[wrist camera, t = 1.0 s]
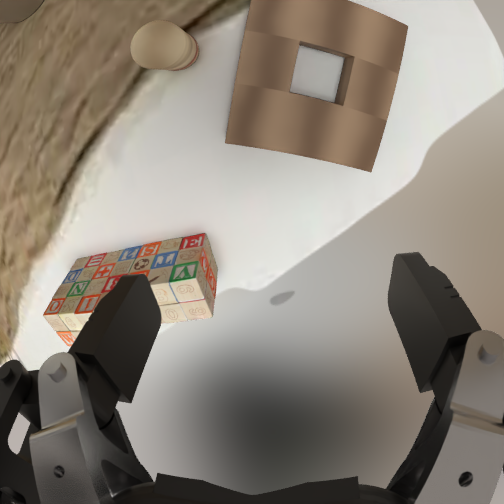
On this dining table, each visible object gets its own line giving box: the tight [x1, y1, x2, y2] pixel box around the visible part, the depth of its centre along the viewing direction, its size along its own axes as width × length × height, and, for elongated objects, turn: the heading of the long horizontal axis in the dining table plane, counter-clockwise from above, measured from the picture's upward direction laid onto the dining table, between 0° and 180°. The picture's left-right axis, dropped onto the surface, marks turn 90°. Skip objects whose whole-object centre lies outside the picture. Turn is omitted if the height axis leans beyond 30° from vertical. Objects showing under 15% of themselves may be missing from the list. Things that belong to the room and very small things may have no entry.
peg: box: [131, 20, 199, 71], centre depth 20 cm, size 4×4×10 cm
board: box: [225, 0, 408, 172], centre depth 24 cm, size 16×18×3 cm
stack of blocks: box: [43, 233, 218, 346], centre depth 34 cm, size 21×6×12 cm, turn 101°
